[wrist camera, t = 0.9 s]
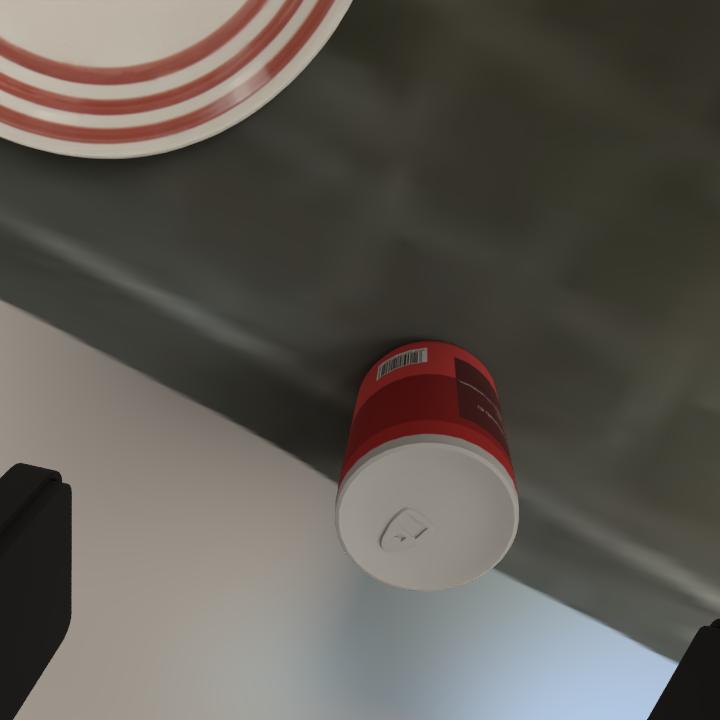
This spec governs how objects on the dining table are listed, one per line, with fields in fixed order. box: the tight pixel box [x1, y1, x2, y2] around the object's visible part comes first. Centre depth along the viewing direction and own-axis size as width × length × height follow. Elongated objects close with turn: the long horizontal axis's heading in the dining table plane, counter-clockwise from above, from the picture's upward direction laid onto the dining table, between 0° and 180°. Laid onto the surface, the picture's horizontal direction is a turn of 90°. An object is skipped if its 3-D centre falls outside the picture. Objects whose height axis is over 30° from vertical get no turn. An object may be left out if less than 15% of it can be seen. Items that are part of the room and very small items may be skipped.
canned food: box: [335, 340, 519, 591], centre depth 33 cm, size 8×8×11 cm
